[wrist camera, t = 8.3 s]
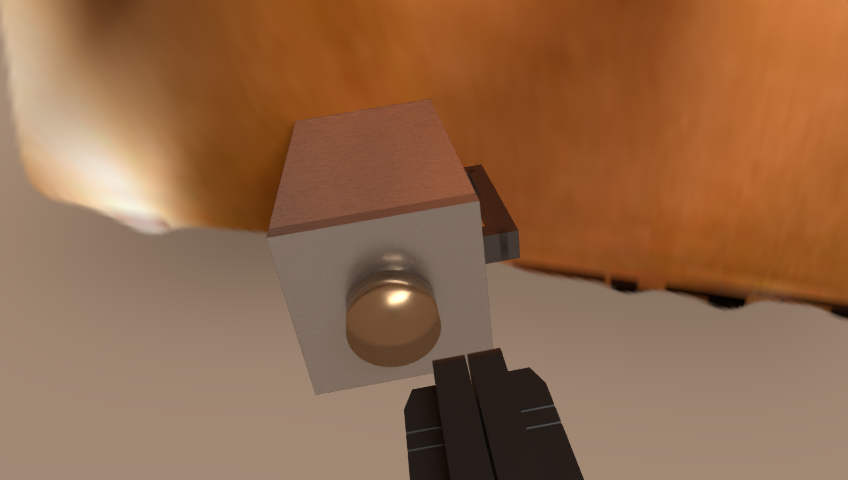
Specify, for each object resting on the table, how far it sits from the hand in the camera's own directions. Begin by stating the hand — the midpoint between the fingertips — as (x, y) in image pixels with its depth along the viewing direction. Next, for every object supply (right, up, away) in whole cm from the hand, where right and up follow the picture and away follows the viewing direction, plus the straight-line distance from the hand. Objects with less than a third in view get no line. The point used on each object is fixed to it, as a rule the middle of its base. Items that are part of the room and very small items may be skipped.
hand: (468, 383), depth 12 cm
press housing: (-4, +9, +36) cm, 37 cm away
